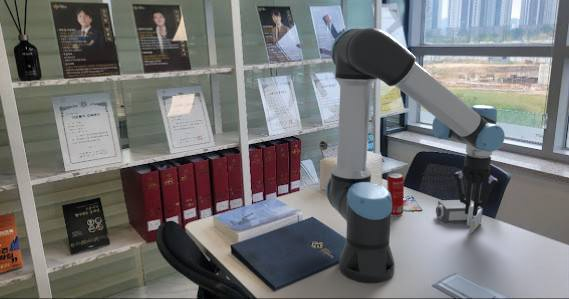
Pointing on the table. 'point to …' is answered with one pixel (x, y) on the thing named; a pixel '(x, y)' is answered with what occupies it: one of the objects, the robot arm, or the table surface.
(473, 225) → the side door
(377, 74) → the robot arm
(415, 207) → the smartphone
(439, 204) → the grey video camera
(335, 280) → the table surface
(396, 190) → the beverage can
